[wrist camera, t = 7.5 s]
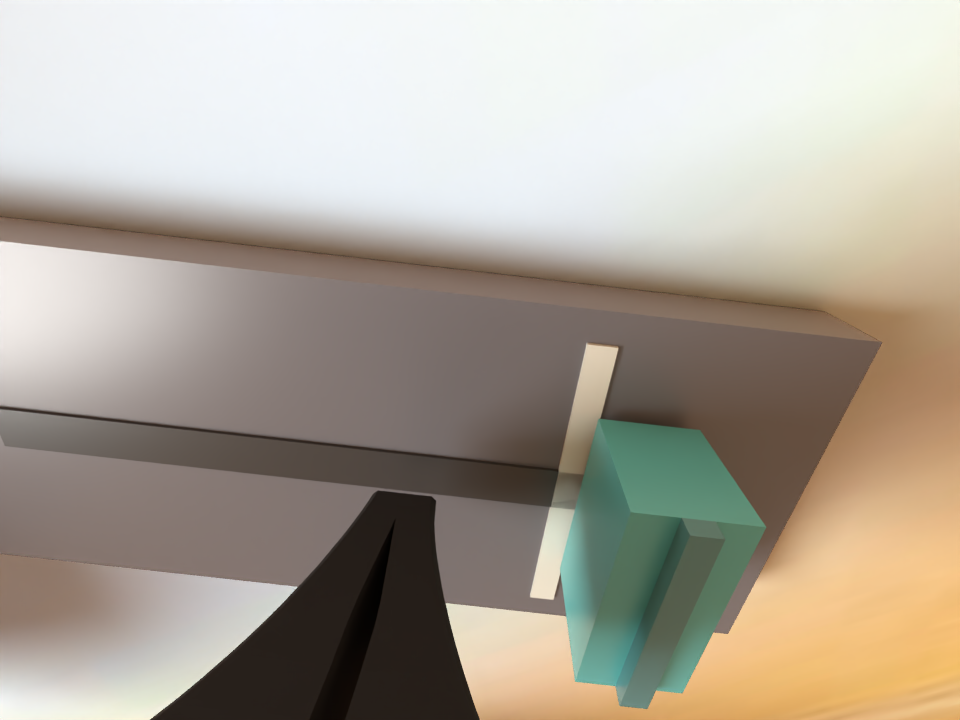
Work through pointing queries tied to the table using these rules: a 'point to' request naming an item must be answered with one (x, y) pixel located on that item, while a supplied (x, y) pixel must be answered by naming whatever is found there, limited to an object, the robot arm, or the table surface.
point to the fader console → (369, 404)
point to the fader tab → (651, 557)
